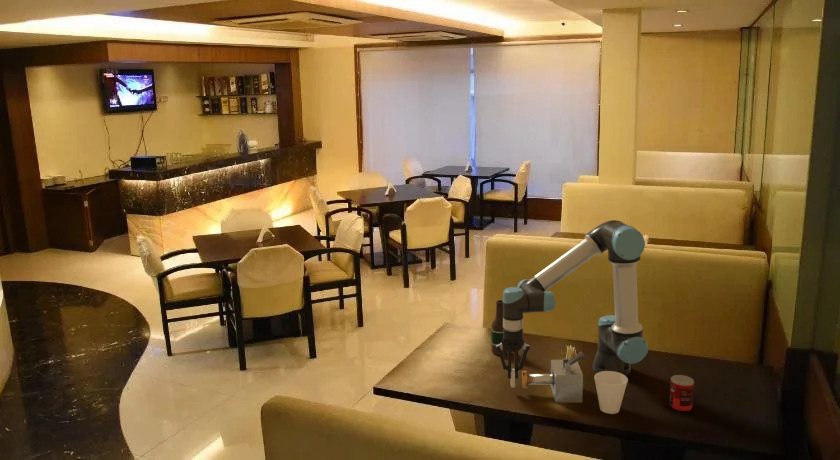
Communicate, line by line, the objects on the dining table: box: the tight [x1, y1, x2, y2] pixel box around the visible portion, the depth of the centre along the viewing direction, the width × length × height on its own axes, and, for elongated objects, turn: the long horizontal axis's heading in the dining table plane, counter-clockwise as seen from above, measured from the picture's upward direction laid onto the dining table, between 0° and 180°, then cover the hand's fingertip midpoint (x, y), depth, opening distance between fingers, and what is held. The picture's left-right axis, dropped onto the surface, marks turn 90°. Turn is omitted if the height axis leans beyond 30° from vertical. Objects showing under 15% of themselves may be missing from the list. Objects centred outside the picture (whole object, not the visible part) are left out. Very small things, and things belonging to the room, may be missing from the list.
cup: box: [593, 371, 629, 415], centre depth 241 cm, size 12×12×12 cm
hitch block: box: [549, 357, 584, 404], centre depth 254 cm, size 10×14×13 cm
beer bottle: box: [490, 299, 508, 357], centre depth 293 cm, size 8×8×24 cm
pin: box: [521, 370, 554, 389], centre depth 255 cm, size 18×6×6 cm, turn 86°
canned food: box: [668, 374, 695, 413], centre depth 242 cm, size 8×8×11 cm
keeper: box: [564, 351, 586, 365], centre depth 252 cm, size 8×4×1 cm
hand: (512, 385), depth 256 cm, fingers closed
